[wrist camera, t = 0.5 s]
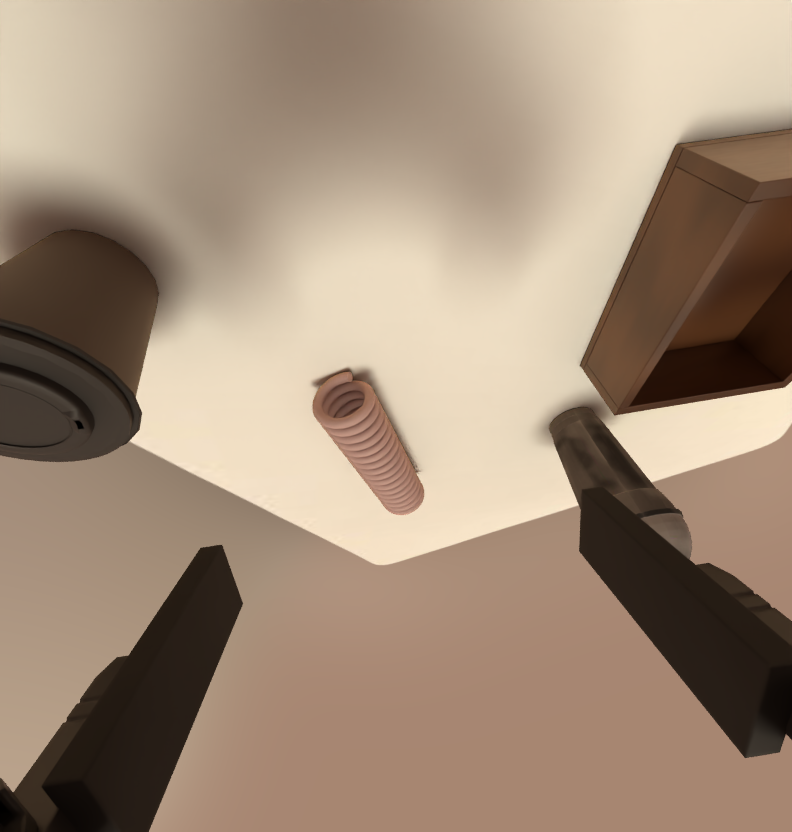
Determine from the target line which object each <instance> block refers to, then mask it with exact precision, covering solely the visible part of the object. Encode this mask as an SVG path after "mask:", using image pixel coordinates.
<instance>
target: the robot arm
mask: <svg viewBox="0 0 792 832" xmlns="http://www.w3.org/2000/svg"><path fill="white" fill-rule="evenodd" d="M579 547H580V548H579V551H580V553H581V554H582V555H583V556H584V558H585V559H586V560H587V561H588V563H589V564H590V565H591V566H592V568H593V569H594V570H595V571H596V573H597V574H598V575H599V576H600V578H601V579H602V580H603V581H604V583H605V584H606V585H607V586H608V588H609V589H610V590H611V591H612V593H613V594H614V595H615V596H616V597H617V599H618V600H619V601H620V603H621V604H622V605H623V606H624V607H625V609H626V610H627V611H628V613H629V614H630V615H631V616H632V618H633V619H634V620H635V621H636V623H637V624H638V625H639V626H640V627H641V629H642V630H643V631H644V632H645V634H646V635H647V636H648V637H649V639H650V640H651V641H652V642H653V644H654V645H655V646H656V647H657V649H658V650H659V651H660V652H661V654H662V655H663V656H664V657H665V659H666V660H667V661H668V662H669V664H670V665H671V666H672V667H673V669H674V670H675V671H676V672H677V674H678V675H679V676H680V677H681V679H682V680H683V681H684V682H685V684H686V685H687V686H688V687H689V688H690V690H691V691H692V692H693V694H694V695H695V696H696V697H697V699H698V700H699V701H700V702H701V704H702V705H703V706H704V707H705V708H706V710H707V711H708V712H709V713H710V715H711V716H712V717H713V718H714V720H715V721H716V722H717V724H718V725H719V726H720V727H721V729H722V730H723V731H724V732H725V734H726V735H727V736H728V737H729V739H730V740H731V741H732V742H733V744H734V745H735V746H736V747H737V748H738V750H739V751H740V752H741V754H742V755H743V756H744V757H745V758H748V757H754V756H760V755H766V754H772V753H778V752H780V750H781V746H782V744H783V740H784V738H785V735H786V734H787V735H788V736H789V737H790V738H791V739H792V621H791V620H789V619H788V618H787V617H786V616H784V615H783V614H782V613H781V612H779V611H778V610H777V609H775V608H772V607H771V606H770V604H769V603H768V602H766V601H765V600H764V599H763V598H761V597H760V596H759V595H757V594H754V593H753V591H752V590H751V589H750V588H749V587H747V586H746V585H745V584H743V583H742V582H741V581H740V580H738V579H737V578H736V577H735V576H733V575H731V574H730V573H728V572H725V571H724V570H721V569H719V568H718V567H716V566H714V565H712V564H710V563H706V564H700V565H695V564H694V563H693V562H692V561H690V560H689V559H688V558H687V557H686V556H684V555H683V554H682V553H681V552H680V551H679V550H677V549H676V548H675V547H674V546H673V545H671V544H670V543H669V542H668V541H667V540H665V539H664V538H663V537H662V536H661V535H660V534H658V533H657V532H656V531H655V530H654V529H652V528H651V527H650V526H649V525H648V524H646V523H645V522H644V521H643V520H642V519H641V518H639V517H638V516H637V515H636V514H635V513H633V512H632V511H631V510H630V509H629V508H627V507H626V506H625V505H624V504H623V503H622V502H620V501H619V500H618V499H617V498H616V497H614V496H613V495H612V494H611V493H610V492H608V491H607V490H606V489H605V488H604V487H603V486H601V487H594V488H588V489H582V493H581V520H580V546H579ZM242 604H243V602H242V600H241V597H240V594H239V591H238V588H237V586H236V583H235V580H234V577H233V574H232V572H231V569H230V566H229V563H228V560H227V557H226V555H225V552H224V549H223V546H222V545H216V546H210V547H203V548H200V550H199V551H198V553H197V554H196V556H195V557H194V559H193V560H192V562H191V563H190V565H189V566H188V568H187V569H186V571H185V572H184V574H183V575H182V577H181V578H180V580H179V581H178V582H177V584H176V585H175V587H174V589H173V590H172V591H171V593H170V594H169V596H168V598H167V599H166V600H165V602H164V603H163V605H162V606H161V608H160V609H159V611H158V612H157V614H156V615H155V617H154V618H153V620H152V621H151V623H150V624H149V626H148V627H147V629H146V631H145V632H144V633H143V635H142V636H141V638H140V639H139V641H138V642H137V644H136V645H135V647H134V648H133V650H132V651H131V653H130V654H129V656H123V657H117V658H116V659H115V660H114V661H113V662H112V663H110V664H109V665H108V666H107V667H106V668H105V669H104V670H103V671H102V672H101V673H100V674H99V675H98V676H97V677H96V678H95V679H94V681H93V682H92V683H91V685H90V686H89V688H88V689H87V691H86V692H85V693H84V695H83V696H82V697H81V699H80V703H79V704H77V705H76V706H75V707H74V709H73V710H72V711H71V713H70V714H69V716H68V717H67V721H66V722H65V723H63V724H62V725H61V727H60V728H59V730H58V731H57V732H56V734H55V735H54V737H53V738H52V739H51V741H50V742H49V744H48V745H47V746H46V748H45V749H44V751H43V752H42V753H41V755H40V756H39V758H38V759H37V760H36V762H35V763H34V764H33V766H32V767H31V769H30V770H29V772H28V773H27V774H26V776H25V777H24V778H23V780H22V781H21V783H20V784H19V786H18V787H17V788H16V790H15V791H14V792H12V791H11V790H10V788H9V787H8V786H7V785H6V783H5V782H4V781H3V780H2V779H1V778H0V832H149V829H150V827H151V825H152V822H153V820H154V817H155V815H156V813H157V810H158V808H159V805H160V803H161V800H162V798H163V795H164V793H165V791H166V788H167V786H168V783H169V781H170V779H171V776H172V774H173V771H174V769H175V767H176V764H177V761H178V759H179V757H180V754H181V752H182V750H183V747H184V745H185V742H186V740H187V738H188V735H189V733H190V730H191V728H192V725H193V723H194V721H195V718H196V716H197V713H198V711H199V708H200V706H201V704H202V701H203V699H204V697H205V694H206V691H207V689H208V687H209V684H210V682H211V680H212V677H213V675H214V672H215V670H216V667H217V665H218V663H219V660H220V658H221V655H222V653H223V650H224V648H225V646H226V643H227V641H228V638H229V636H230V634H231V631H232V629H233V626H234V624H235V621H236V619H237V617H238V614H239V612H240V610H241V607H242Z"/></svg>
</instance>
